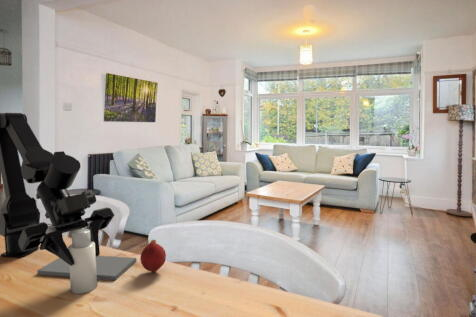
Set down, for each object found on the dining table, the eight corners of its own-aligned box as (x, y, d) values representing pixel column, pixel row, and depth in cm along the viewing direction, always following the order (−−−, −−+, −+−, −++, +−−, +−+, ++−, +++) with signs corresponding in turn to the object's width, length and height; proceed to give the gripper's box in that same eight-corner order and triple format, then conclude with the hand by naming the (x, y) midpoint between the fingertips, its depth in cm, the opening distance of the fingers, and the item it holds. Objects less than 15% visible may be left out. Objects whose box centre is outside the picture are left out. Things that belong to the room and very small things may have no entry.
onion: (159, 279, 73) (158, 245, 72) (136, 276, 74) (135, 243, 73) (170, 267, 78) (169, 236, 78) (148, 266, 80) (147, 235, 79)
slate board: (37, 274, 76) (37, 270, 75) (66, 257, 85) (66, 253, 85) (115, 280, 72) (115, 276, 72) (136, 261, 82) (136, 257, 82)
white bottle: (65, 292, 67) (61, 235, 66) (81, 280, 72) (77, 227, 71) (87, 294, 66) (84, 236, 65) (102, 282, 71) (99, 228, 70)
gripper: (19, 186, 62) (49, 255, 56) (107, 174, 77) (138, 227, 71) (7, 219, 67) (33, 284, 62) (92, 201, 82) (119, 253, 77)
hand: (85, 259), depth 68 cm, fingers closed on white bottle, 5 cm apart
